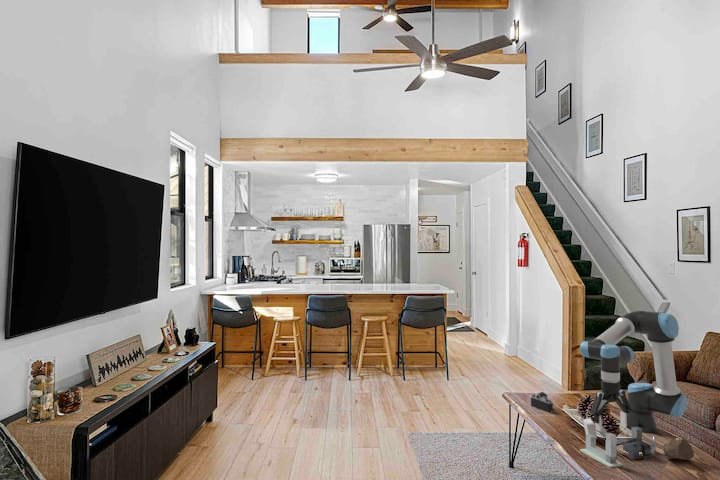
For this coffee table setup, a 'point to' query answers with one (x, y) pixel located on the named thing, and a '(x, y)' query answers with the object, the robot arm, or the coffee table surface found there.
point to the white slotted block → (606, 454)
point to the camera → (542, 402)
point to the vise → (637, 445)
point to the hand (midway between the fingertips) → (611, 428)
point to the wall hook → (592, 428)
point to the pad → (601, 459)
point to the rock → (678, 449)
